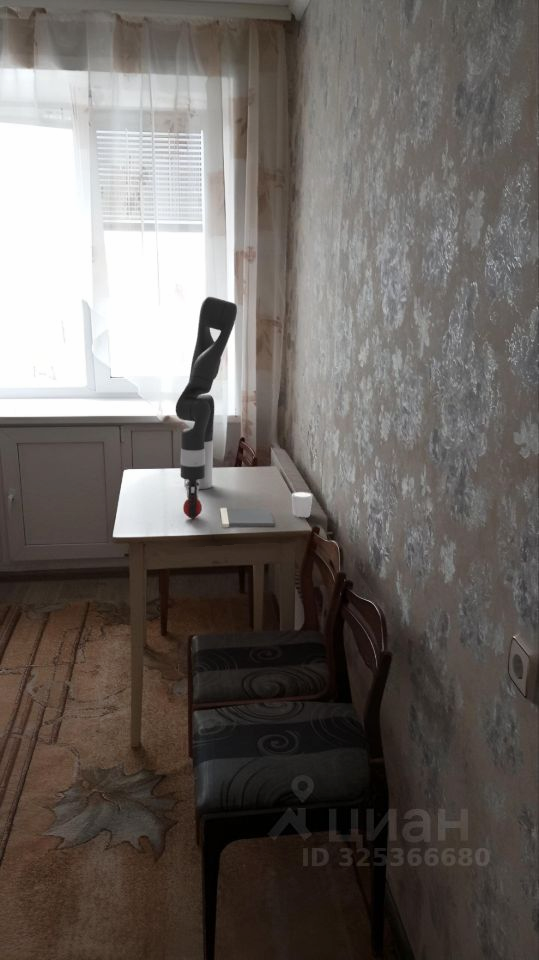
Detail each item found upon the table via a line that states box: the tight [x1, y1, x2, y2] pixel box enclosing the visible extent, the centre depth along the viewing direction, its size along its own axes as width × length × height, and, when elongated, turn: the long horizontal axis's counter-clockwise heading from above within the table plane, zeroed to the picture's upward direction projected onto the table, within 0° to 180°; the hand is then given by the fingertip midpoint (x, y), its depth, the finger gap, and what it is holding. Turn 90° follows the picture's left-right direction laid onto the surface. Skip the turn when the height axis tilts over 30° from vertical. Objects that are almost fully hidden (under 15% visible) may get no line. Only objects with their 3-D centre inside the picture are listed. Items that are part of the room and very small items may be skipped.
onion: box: [182, 498, 203, 520], centre depth 234 cm, size 6×6×8 cm
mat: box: [219, 507, 275, 528], centre depth 237 cm, size 16×16×1 cm
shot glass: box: [291, 491, 314, 519], centre depth 242 cm, size 7×7×7 cm
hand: (192, 512), depth 234 cm, fingers open, 7 cm apart
